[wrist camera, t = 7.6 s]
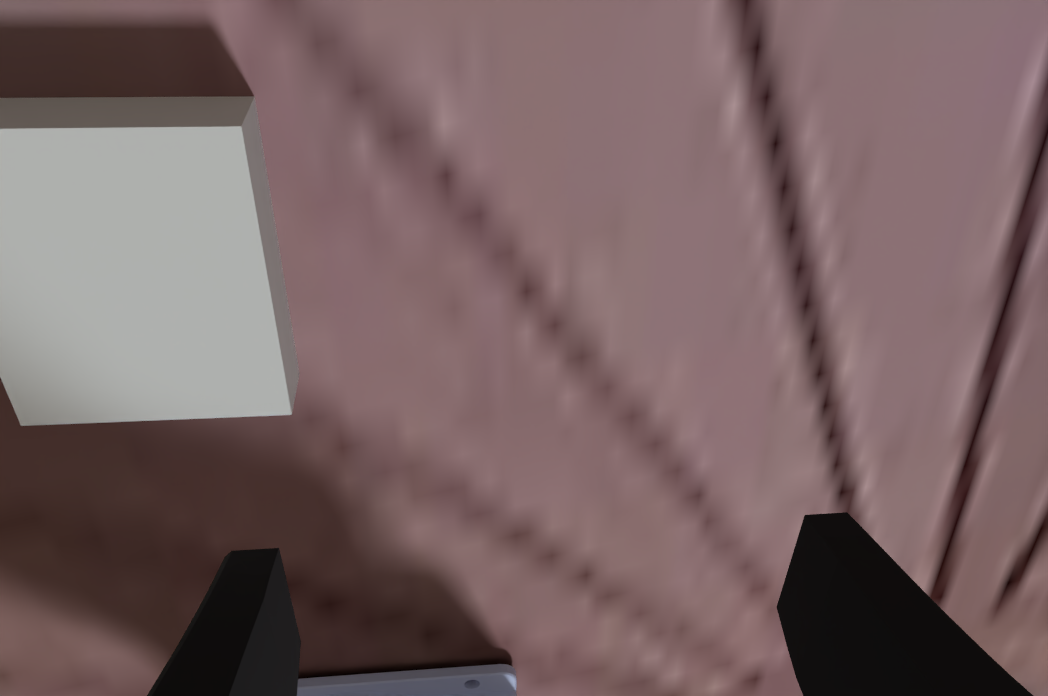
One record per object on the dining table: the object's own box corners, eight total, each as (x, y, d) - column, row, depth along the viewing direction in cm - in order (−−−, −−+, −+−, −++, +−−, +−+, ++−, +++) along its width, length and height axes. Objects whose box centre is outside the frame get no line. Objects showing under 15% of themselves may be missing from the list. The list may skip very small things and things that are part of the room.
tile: (258, 88, 17) (241, 126, 16) (301, 362, 21) (291, 415, 20) (-55, 90, 17) (-106, 130, 15) (51, 371, 21) (20, 425, 19)
